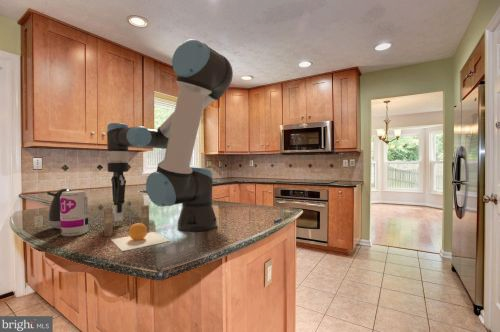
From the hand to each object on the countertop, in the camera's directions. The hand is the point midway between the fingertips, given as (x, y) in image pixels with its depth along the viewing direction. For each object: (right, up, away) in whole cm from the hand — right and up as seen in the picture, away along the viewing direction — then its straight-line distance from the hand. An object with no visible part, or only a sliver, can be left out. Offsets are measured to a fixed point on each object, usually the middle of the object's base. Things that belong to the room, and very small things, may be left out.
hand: (118, 220), depth 102 cm
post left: (+4, -2, -14) cm, 15 cm away
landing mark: (+18, -2, -20) cm, 27 cm away
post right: (+13, -2, -6) cm, 15 cm away
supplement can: (-9, -2, -12) cm, 15 cm away
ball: (+17, +1, -20) cm, 26 cm away
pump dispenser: (-19, -2, -3) cm, 20 cm away
